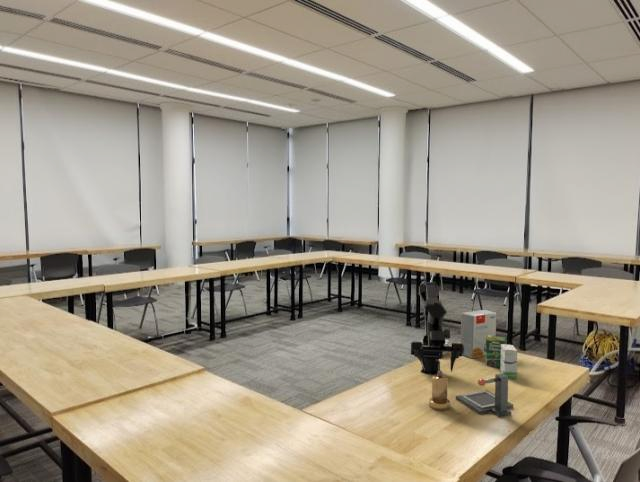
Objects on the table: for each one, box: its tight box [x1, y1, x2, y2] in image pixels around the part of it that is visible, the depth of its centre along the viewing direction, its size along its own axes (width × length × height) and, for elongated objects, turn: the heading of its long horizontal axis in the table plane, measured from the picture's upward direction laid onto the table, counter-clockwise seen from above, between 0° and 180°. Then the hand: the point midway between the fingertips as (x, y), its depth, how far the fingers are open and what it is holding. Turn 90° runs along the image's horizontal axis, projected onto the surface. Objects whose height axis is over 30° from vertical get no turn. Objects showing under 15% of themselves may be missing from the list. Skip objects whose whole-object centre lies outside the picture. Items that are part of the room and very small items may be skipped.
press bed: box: [455, 372, 514, 418], centre depth 155 cm, size 17×16×13 cm
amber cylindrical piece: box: [428, 370, 451, 412], centre depth 155 cm, size 7×7×12 cm
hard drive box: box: [460, 309, 497, 359], centre depth 209 cm, size 16×8×20 cm, turn 117°
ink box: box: [499, 343, 518, 380], centre depth 183 cm, size 9×5×12 cm, turn 168°
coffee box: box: [485, 335, 507, 368], centre depth 194 cm, size 8×3×13 cm, turn 59°
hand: (438, 370), depth 159 cm, fingers open, 9 cm apart
